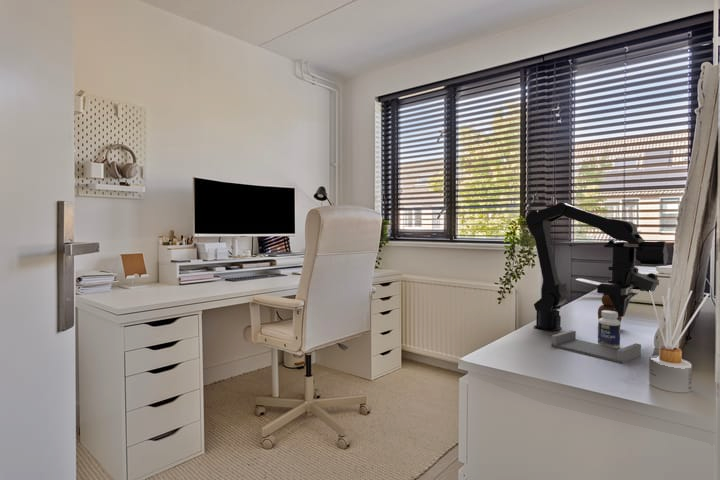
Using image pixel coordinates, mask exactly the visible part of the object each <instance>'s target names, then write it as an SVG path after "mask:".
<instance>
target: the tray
mask: <svg viewBox="0 0 720 480" xmlns="http://www.w3.org/2000/svg"><path fill="white" fill-rule="evenodd" d="M576 332H577V331H576V330H573V329H572V330H567V331H563V332H559V333H556V334H552V335H551V345H550V346H551V347H555V348H558V349H563V350H567V351H571V352H574V353H579V354H583V355H586V356H590V357H595V358H597V359H603V360H606V361H611V362H615V363H619V364H625V363H627V362H629V361H632V360H634V359H636V358H639V357H641V354H642V344H641V343H633V344H630V345H627V346H625V347H622V348H614V347H609V346H604V345H600V344H598V343H595V342H590V341H586V340H583V339H576V337H577V336H576V335H577V333H576Z"/></svg>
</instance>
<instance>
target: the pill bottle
mask: <svg viewBox="0 0 720 480" xmlns="http://www.w3.org/2000/svg"><path fill="white" fill-rule="evenodd" d="M601 316H602V318H600V319H599V320H598V321H597V324H598V326H597V344H600V345H604V346H609V347H614V348H618V349H620V347H621V323H622V322H621V323H620V321H619V320H617V318H618V312H615V311H608V310H603V311H602V312H601Z"/></svg>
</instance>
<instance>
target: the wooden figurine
mask: <svg viewBox="0 0 720 480" xmlns="http://www.w3.org/2000/svg"><path fill="white" fill-rule="evenodd" d="M601 303H602V304H601V305H600V306H599V307H598V309H597V319H598V321H599V319H600V318H602V316H601V312H602V311H603V310H608V311H615V312H617V311H616V309H615V307H614V305H613V303H612V301H611V299H610V297H609V296H608V294H603V295H602V297H601ZM622 319H623V317H621V316H619V315H618V318H617V320H619V321H620V323H622Z"/></svg>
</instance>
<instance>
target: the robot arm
mask: <svg viewBox="0 0 720 480" xmlns="http://www.w3.org/2000/svg"><path fill="white" fill-rule="evenodd" d="M562 217H566V218H568V219H572V220H574V221H577V222H580V223H581V224H582V223H583V224H586V225H588V226H591V227H592V228H596V229H598V230H599V231H601V232H602V233H604V234H606V235H607V236H609V237H611V238H612V239H610V240H608V242H607V243H605V244H604V245H603V247H604V248H607V249H608V248H609V249H610V248H611V266H608V271H610V273H611V275H610V279H609V280H608V281H607V282H601V283H599V284H598V285H597V290H596V292H597V293H598V294H608V296H609V297H610V299H611V301H612V303H613V305H614V307H615V309H616V311H617V312H618V315H619V316H621V317H622V318H623V317H625V315H626V313H627V310H628V307H629V304H630V301H631V300H632V298H634V297H635V296H637V295H638V294H639V293H638V292H633V291H634V290H639V291H641V292H647V293H650V292H649V290H650V291H651V292H655V291H656V288H657V287H658V286H659V285H660V282H659V281H660V280H659V278H658V275H657V274H655V273H652V272H651V273H648V274H642V273H640V272H639V268H638V267H636V263H635V260H636V261H637V262H639V264H640V265H642V266H643V265H644V266H661V267H662V266H663V267H666V266H667V263H668V260H669V259H668V258H669V252H668V249H667V241H664V240H660V241H645V240H644V239H643V237H642V236H641V235H640V234H639V232H638V227H637V225H636V224H635V223H634V222H633V221H629V220H624V219H616V218H613V217H612V218H610V217H606V216H602V215H600V214H598V213H597V214H596V213H593V212H592V211H591V212H590V211H588V210H586V209H585V210H584V209H582V208H579V207H577V206H574V205H571V204H569V203H568V202H567V203H566V202H558V203H556V204H554V205H552V206H548V207H546V208H542V209H540V210H533V211H532V210H531V211H530V212H529V213H528V214H527V215H526V216H525V223H526V226H527V227H528V231H529V232H530V234H531V235H532V237H533V239H534V242H535V247H536V252H537V257H538V263H539V267H540V272H541V276H542V277H541V278H542V282H541V283H542V284H541V290H540V291H541V296H540V297H541V298H540V299H538V300H537V301H536V302H535V303H534V304H533V307H534V309H535V311H536V313H535V314H536V321H535V323H536V324H535V325H533V328H534V327H537V328H536V329H539V328H541V329H540V330H544V331H548V332H554V331H558V330H562V327H563V326H561V319H562V318H561V315H560V310H561V307H562V306H563V305H564V304H565V303H566V302H567V300H568V296H570V295H569V292H568V290H567V282H561V280H560V279H559V276H558V272H557V266H556V262H555V257H554V252H553V248H552V247H553V246H552V243H551V238H550V234H551V230H552V222H554V221H558V220H559V219H560V218H562ZM615 240H616V241H623V242H616V241H615ZM624 241H625V242H624ZM628 244H629V245H628ZM632 245H633V246H632ZM635 245H637V246H635Z"/></svg>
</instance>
